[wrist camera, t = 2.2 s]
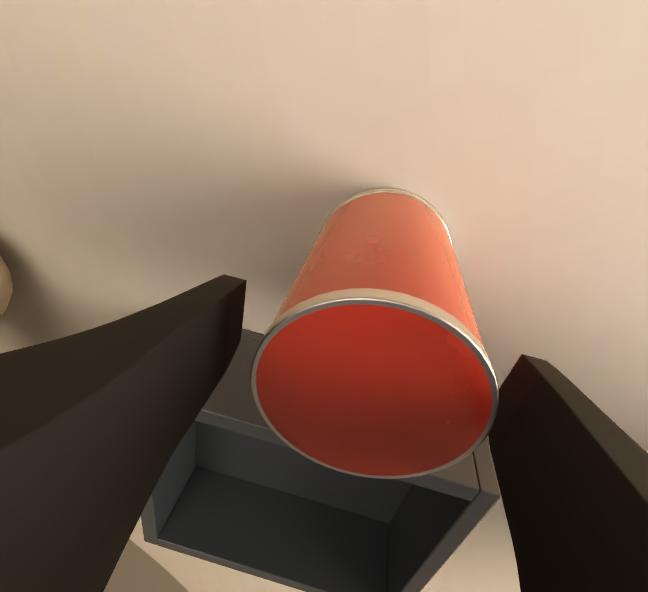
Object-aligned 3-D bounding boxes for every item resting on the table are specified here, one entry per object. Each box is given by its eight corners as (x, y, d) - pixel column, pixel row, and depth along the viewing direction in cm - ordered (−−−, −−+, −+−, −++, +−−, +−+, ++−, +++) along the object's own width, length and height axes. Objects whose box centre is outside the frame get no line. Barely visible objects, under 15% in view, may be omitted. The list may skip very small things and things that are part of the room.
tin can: (474, 208, 13) (553, 343, 6) (424, 323, 16) (441, 502, 9) (332, 172, 13) (262, 265, 7) (308, 291, 16) (241, 443, 9)
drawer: (476, 393, 17) (502, 497, 13) (397, 523, 24) (396, 620, 20) (188, 313, 18) (121, 386, 14) (188, 461, 25) (144, 541, 20)
